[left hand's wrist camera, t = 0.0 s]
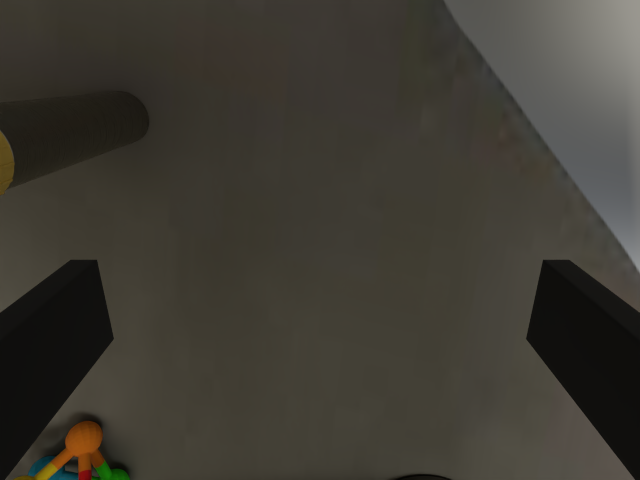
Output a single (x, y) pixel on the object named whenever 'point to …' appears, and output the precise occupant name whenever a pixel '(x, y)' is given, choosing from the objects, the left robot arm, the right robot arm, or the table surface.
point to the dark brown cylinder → (68, 130)
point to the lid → (5, 164)
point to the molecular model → (83, 443)
